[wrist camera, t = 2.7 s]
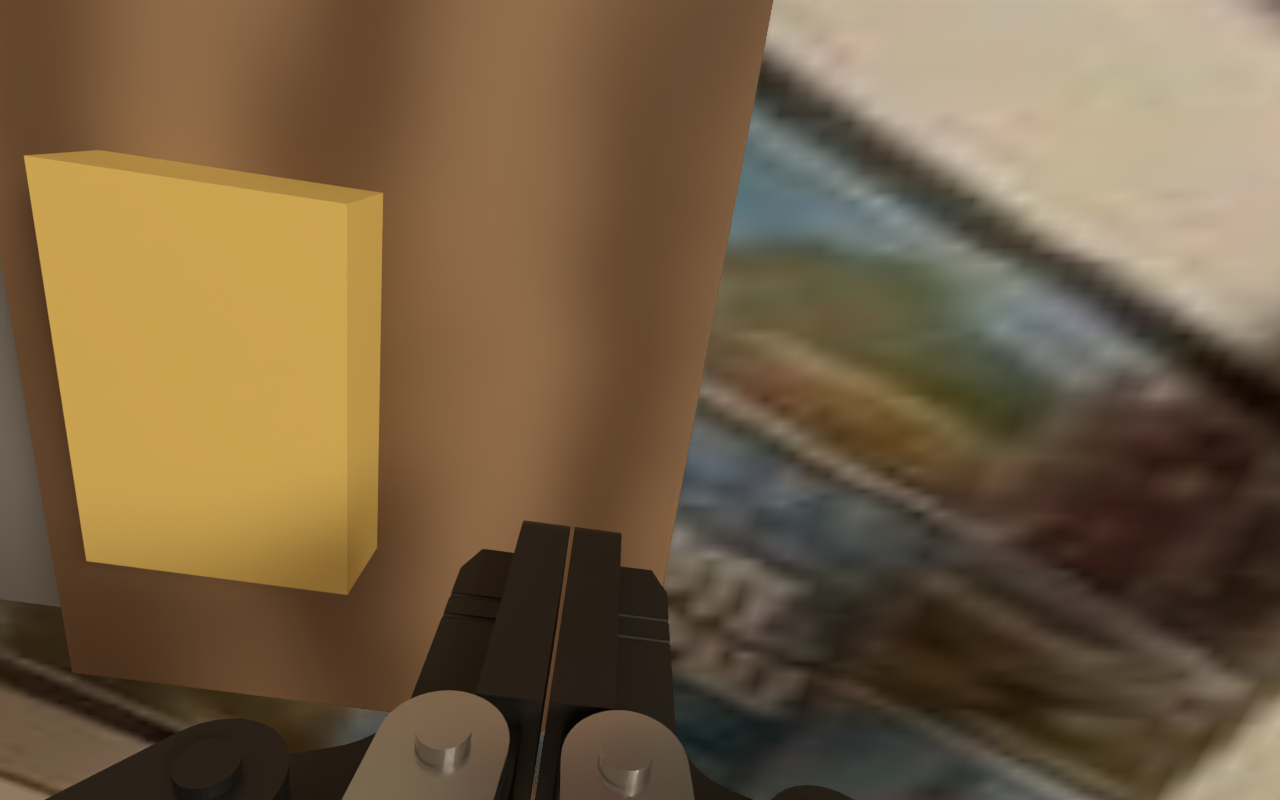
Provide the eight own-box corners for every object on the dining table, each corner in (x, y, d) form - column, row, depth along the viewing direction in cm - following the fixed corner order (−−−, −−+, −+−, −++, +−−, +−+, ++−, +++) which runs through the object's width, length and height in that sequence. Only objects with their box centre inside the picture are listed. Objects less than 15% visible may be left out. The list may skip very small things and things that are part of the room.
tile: (382, 192, 16) (347, 204, 14) (377, 547, 19) (347, 594, 17) (98, 149, 16) (23, 155, 14) (141, 516, 19) (86, 561, 17)
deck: (759, -17, 17) (781, -42, 14) (635, 669, 24) (633, 742, 21) (47, -135, 16) (-78, -185, 13) (140, 606, 24) (71, 672, 21)
